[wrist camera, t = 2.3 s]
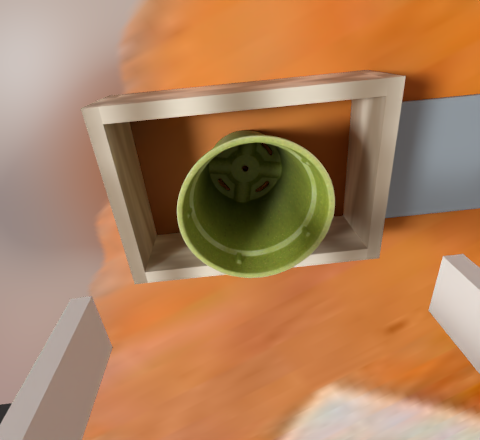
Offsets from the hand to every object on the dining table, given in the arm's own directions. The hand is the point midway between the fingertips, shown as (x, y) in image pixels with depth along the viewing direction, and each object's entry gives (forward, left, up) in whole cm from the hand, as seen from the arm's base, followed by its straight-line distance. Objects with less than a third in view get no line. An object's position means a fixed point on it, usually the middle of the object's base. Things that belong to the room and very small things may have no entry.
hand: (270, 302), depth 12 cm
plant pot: (0, 0, -16) cm, 16 cm away
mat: (-16, +1, -16) cm, 23 cm away
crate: (0, 0, -16) cm, 16 cm away
